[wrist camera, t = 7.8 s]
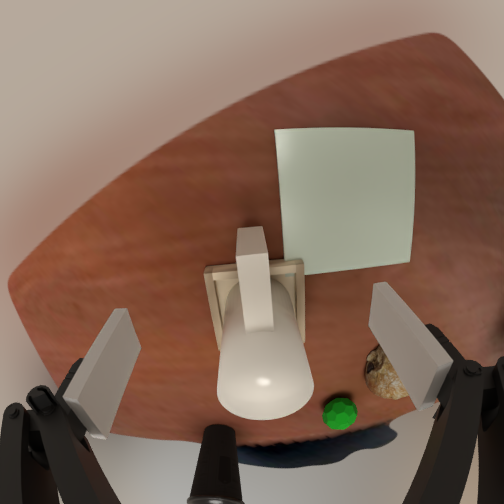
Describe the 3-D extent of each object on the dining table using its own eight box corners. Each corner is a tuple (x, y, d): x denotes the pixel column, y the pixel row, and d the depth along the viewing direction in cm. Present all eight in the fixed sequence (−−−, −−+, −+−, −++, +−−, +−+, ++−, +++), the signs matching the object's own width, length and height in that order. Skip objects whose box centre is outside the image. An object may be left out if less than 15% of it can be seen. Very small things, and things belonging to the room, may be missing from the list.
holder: (300, 257, 28) (304, 263, 27) (302, 333, 32) (304, 342, 30) (205, 266, 29) (203, 273, 27) (219, 341, 32) (218, 350, 30)
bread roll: (376, 315, 36) (373, 351, 29) (443, 327, 32) (452, 363, 25) (360, 368, 39) (352, 406, 33) (420, 378, 36) (421, 416, 29)
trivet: (410, 130, 24) (413, 130, 23) (407, 259, 29) (409, 261, 28) (274, 129, 24) (274, 129, 23) (284, 274, 29) (285, 276, 29)
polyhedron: (358, 392, 37) (367, 416, 32) (342, 412, 38) (349, 436, 34) (329, 389, 36) (337, 415, 31) (314, 410, 38) (319, 435, 33)
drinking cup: (186, 422, 38) (171, 537, 19) (233, 415, 37) (231, 539, 19) (207, 445, 41) (200, 547, 22) (250, 439, 40) (254, 547, 21)
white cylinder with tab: (291, 328, 31) (311, 414, 20) (229, 334, 31) (225, 422, 20) (286, 214, 26) (317, 269, 15) (212, 221, 26) (189, 281, 15)
